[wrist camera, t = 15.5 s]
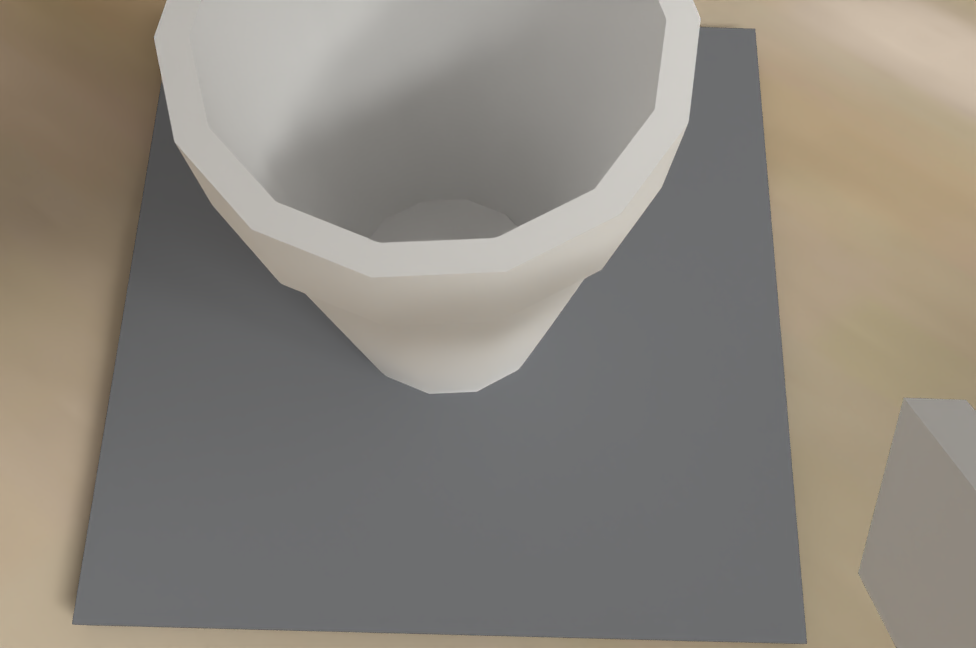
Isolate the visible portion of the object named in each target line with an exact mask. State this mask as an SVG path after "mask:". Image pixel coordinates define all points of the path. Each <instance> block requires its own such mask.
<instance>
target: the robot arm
mask: <svg viewBox="0 0 976 648" xmlns="http://www.w3.org/2000/svg"><path fill="white" fill-rule="evenodd" d="M858 574H859V576H860V578H861V580H862V582H863V584H864V586H865V588H866V590H867V592H868V594H869V595H870V597H871V599H872V601H873V603H874V605H875V607H876V609H877V611H878V613H879V615H880V617H881V619H882V621H883V623H884V625H885V627H886V629H887V631H888V633H889V635H890V637H891V639H892V640H893V642H894V644H895V646H896V648H976V411H975V410H974V408H973V407H972V406H971V405H970V404H969V403H968V402H967V401H966V400H954V399H926V398H903V402H902V406H901V410H900V414H899V418H898V421H897V425H896V429H895V433H894V437H893V441H892V445H891V448H890V452H889V456H888V460H887V464H886V468H885V472H884V475H883V479H882V483H881V487H880V491H879V495H878V499H877V502H876V506H875V510H874V514H873V518H872V522H871V526H870V529H869V533H868V537H867V541H866V545H865V549H864V553H863V556H862V560H861V564H860V568H859V572H858Z"/></svg>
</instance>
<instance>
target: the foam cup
mask: <svg viewBox="0 0 976 648" xmlns="http://www.w3.org/2000/svg"><path fill="white" fill-rule="evenodd" d="M700 21H701V18H700V16H699V13H698V11H697V9H696V6H695V4H694V2H693V0H167V1H166V4H165V7H164V10H163V13H162V15H161V18H160V21H159V24H158V27H157V30H156V33H155V35H154V41H155V46H156V51H157V56H158V61H159V66H160V71H161V76H162V82H163V87H164V92H165V97H166V102H167V107H168V112H169V117H170V122H171V127H172V132H173V138H174V142H175V144H176V145H177V147H178V149H179V150H180V152H181V154H182V155H183V157H184V159H185V160H186V162H187V164H188V165H189V167H190V169H191V170H192V172H193V174H194V175H195V177H196V179H197V180H198V182H199V184H200V185H201V187H202V189H203V190H204V192H205V194H206V196H207V197H208V199H209V201H210V202H211V204H212V206H213V207H214V208H215V209H216V210H217V211H218V212H219V214H220V215H221V216H222V217H223V218H224V219H225V220H226V222H227V223H228V224H229V225H230V226H231V227H232V228H233V230H234V231H235V232H236V233H237V234H238V235H239V236H240V238H241V239H242V240H243V241H244V242H245V243H246V244H247V246H248V247H249V248H250V249H251V250H252V251H253V253H254V254H255V255H256V256H257V257H258V258H259V259H260V261H261V262H262V263H263V264H264V265H265V266H266V267H267V269H268V270H269V271H270V272H271V273H272V274H273V275H274V277H275V278H276V279H277V280H278V281H279V282H280V283H281V284H283V285H285V286H288V287H290V288H293V289H295V290H298V291H300V292H302V293H305V294H306V295H307V296H308V297H309V298H310V299H311V300H312V301H313V302H314V303H315V304H316V305H317V306H318V307H319V309H320V310H321V311H322V312H323V313H324V314H325V315H326V316H327V317H328V318H329V319H330V320H331V321H332V322H333V323H334V324H335V325H336V326H337V327H338V328H339V329H340V330H341V331H342V332H343V333H344V334H345V335H346V336H347V337H348V338H349V339H350V340H351V342H352V343H353V344H354V345H355V346H356V347H357V348H358V349H359V350H360V351H361V352H362V353H363V354H364V355H365V356H366V357H367V358H368V359H369V360H370V361H371V362H372V363H373V364H374V365H375V366H376V367H377V368H378V369H379V370H380V371H381V372H382V373H383V374H384V375H385V376H387V377H389V378H392V379H394V380H397V381H399V382H401V383H404V384H406V385H409V386H411V387H413V388H416V389H418V390H421V391H423V392H426V393H428V394H438V393H460V392H477V391H479V390H481V389H483V388H485V387H487V386H488V385H490V384H492V383H494V382H496V381H498V380H500V379H502V378H504V377H506V376H508V375H509V374H511V373H513V372H515V371H517V370H518V369H519V368H520V367H521V366H522V365H523V363H524V362H525V361H526V359H527V358H528V357H529V355H530V354H531V352H532V351H533V350H534V348H535V347H536V346H537V344H538V343H539V342H540V340H541V339H542V337H543V336H544V335H545V333H546V332H547V331H548V329H549V328H550V327H551V325H552V324H553V322H554V321H555V320H556V318H557V317H558V315H559V314H560V312H561V311H562V310H563V308H564V307H565V305H566V304H567V303H568V301H569V300H570V298H571V297H572V296H573V294H574V293H575V291H576V290H577V289H578V287H579V286H580V284H581V283H582V282H583V280H584V279H585V278H587V277H588V276H590V275H592V274H594V273H596V272H598V271H600V270H602V268H603V267H604V266H605V264H606V263H607V262H608V260H609V259H610V257H611V256H612V255H613V253H614V252H615V251H616V249H617V248H618V246H619V245H620V244H621V242H622V241H623V240H624V238H625V237H626V236H627V234H628V233H629V231H630V230H631V229H632V227H633V226H634V225H635V223H636V222H637V220H638V219H639V218H640V216H641V215H642V214H643V212H644V211H645V210H646V208H647V207H648V205H649V204H650V203H651V201H652V200H653V199H654V197H655V196H656V194H657V193H658V192H659V190H660V189H661V188H662V185H663V183H664V181H665V178H666V176H667V173H668V171H669V169H670V166H671V164H672V161H673V159H674V156H675V154H676V152H677V149H678V147H679V144H680V142H681V139H682V137H683V135H684V132H685V130H686V127H687V125H688V122H689V115H690V107H691V98H692V89H693V81H694V72H695V64H696V55H697V47H698V38H699V29H700Z"/></svg>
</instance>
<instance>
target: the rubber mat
mask: <svg viewBox="0 0 976 648" xmlns="http://www.w3.org/2000/svg"><path fill="white" fill-rule="evenodd" d="M72 624H74V625H104V626H142V627H180V628H218V629H256V630H294V631H332V632H369V633H407V634H445V635H483V636H521V637H559V638H597V639H635V640H673V641H711V642H749V643H786V644H807V639H806V627H805V615H804V603H803V591H802V579H801V568H800V556H799V544H798V532H797V520H796V508H795V496H794V484H793V473H792V461H791V449H790V437H789V425H788V413H787V401H786V389H785V378H784V366H783V354H782V342H781V330H780V318H779V306H778V294H777V283H776V271H775V259H774V247H773V235H772V223H771V211H770V199H769V188H768V176H767V164H766V152H765V140H764V128H763V116H762V104H761V93H760V81H759V69H758V57H757V45H756V33H755V29H743V28H710V27H700V29H699V38H698V47H697V55H696V64H695V72H694V81H693V89H692V98H691V107H690V115H689V122H688V125H687V127H686V130H685V132H684V135H683V137H682V139H681V142H680V144H679V147H678V149H677V152H676V154H675V156H674V159H673V161H672V164H671V166H670V169H669V171H668V173H667V176H666V178H665V181H664V183H663V185H662V188H661V189H660V190H659V192H658V193H657V194H656V196H655V197H654V199H653V200H652V201H651V203H650V204H649V205H648V207H647V208H646V210H645V211H644V212H643V214H642V215H641V216H640V218H639V219H638V220H637V222H636V223H635V225H634V226H633V227H632V229H631V230H630V231H629V233H628V234H627V236H626V237H625V238H624V240H623V241H622V242H621V244H620V245H619V246H618V248H617V249H616V251H615V252H614V253H613V255H612V256H611V257H610V259H609V260H608V262H607V263H606V264H605V266H604V267H603V268H602V270H600V271H598V272H596V273H594V274H592V275H590V276H588V277H587V278H585V279H584V280H583V282H582V283H581V284H580V286H579V287H578V289H577V290H576V291H575V293H574V294H573V296H572V297H571V298H570V300H569V301H568V303H567V304H566V305H565V307H564V308H563V310H562V311H561V312H560V314H559V315H558V317H557V318H556V320H555V321H554V322H553V324H552V325H551V327H550V328H549V329H548V331H547V332H546V333H545V335H544V336H543V337H542V339H541V340H540V342H539V343H538V344H537V346H536V347H535V348H534V350H533V351H532V352H531V354H530V355H529V357H528V358H527V359H526V361H525V362H524V363H523V365H522V366H521V367H520V368H519V369H518V370H517V371H515V372H513V373H511V374H509V375H508V376H506V377H504V378H502V379H500V380H498V381H496V382H494V383H492V384H490V385H488V386H487V387H485V388H483V389H481V390H479V391H477V392H460V393H438V394H428V393H426V392H423V391H421V390H418V389H416V388H413V387H411V386H409V385H406V384H404V383H401V382H399V381H397V380H394V379H392V378H389V377H387V376H385V375H384V374H383V373H382V372H381V371H380V370H379V369H378V368H377V367H376V366H375V365H374V364H373V363H372V362H371V361H370V360H369V359H368V358H367V357H366V356H365V355H364V354H363V353H362V352H361V351H360V350H359V349H358V348H357V347H356V346H355V345H354V344H353V343H352V342H351V340H350V339H349V338H348V337H347V336H346V335H345V334H344V333H343V332H342V331H341V330H340V329H339V328H338V327H337V326H336V325H335V324H334V323H333V322H332V321H331V320H330V319H329V318H328V317H327V316H326V315H325V314H324V313H323V312H322V311H321V310H320V309H319V307H318V306H317V305H316V304H315V303H314V302H313V301H312V300H311V299H310V298H309V297H308V296H307V295H306V294H305V293H302V292H300V291H298V290H295V289H293V288H290V287H288V286H285V285H283V284H281V283H280V282H279V281H278V280H277V279H276V278H275V277H274V275H273V274H272V273H271V272H270V271H269V270H268V269H267V267H266V266H265V265H264V264H263V263H262V262H261V261H260V259H259V258H258V257H257V256H256V255H255V254H254V253H253V251H252V250H251V249H250V248H249V247H248V246H247V244H246V243H245V242H244V241H243V240H242V239H241V238H240V236H239V235H238V234H237V233H236V232H235V231H234V230H233V228H232V227H231V226H230V225H229V224H228V223H227V222H226V220H225V219H224V218H223V217H222V216H221V215H220V214H219V212H218V211H217V210H216V209H215V208H214V207H213V206H212V204H211V202H210V201H209V199H208V197H207V196H206V194H205V192H204V190H203V189H202V187H201V185H200V184H199V182H198V180H197V179H196V177H195V175H194V174H193V172H192V170H191V169H190V167H189V165H188V164H187V162H186V160H185V159H184V157H183V155H182V154H181V152H180V150H179V149H178V147H177V145H176V144H175V142H174V138H173V132H172V127H171V122H170V117H169V112H168V107H167V102H166V97H165V92H164V87H163V82H161V89H160V95H159V101H158V107H157V113H156V119H155V125H154V131H153V137H152V143H151V149H150V155H149V161H148V167H147V173H146V179H145V185H144V192H143V198H142V204H141V210H140V216H139V222H138V228H137V234H136V240H135V246H134V252H133V258H132V264H131V270H130V276H129V282H128V288H127V295H126V301H125V307H124V313H123V319H122V325H121V331H120V337H119V343H118V349H117V355H116V361H115V367H114V373H113V379H112V385H111V391H110V398H109V404H108V410H107V416H106V422H105V428H104V434H103V440H102V446H101V452H100V458H99V464H98V470H97V476H96V482H95V488H94V495H93V501H92V507H91V513H90V519H89V525H88V531H87V537H86V543H85V549H84V555H83V561H82V567H81V573H80V579H79V585H78V591H77V598H76V604H75V610H74V616H73V622H72Z"/></svg>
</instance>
